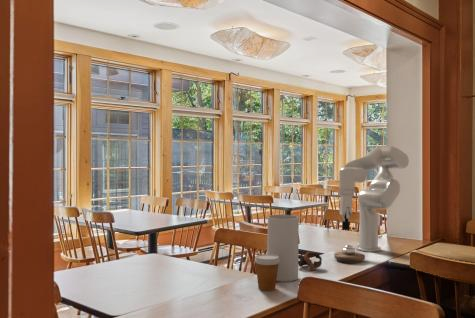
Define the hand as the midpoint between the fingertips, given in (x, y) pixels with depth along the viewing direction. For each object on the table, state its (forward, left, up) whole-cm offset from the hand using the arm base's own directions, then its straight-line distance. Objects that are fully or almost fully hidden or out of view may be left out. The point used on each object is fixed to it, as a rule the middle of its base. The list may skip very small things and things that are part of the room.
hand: (345, 229), depth 230 cm
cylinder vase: (+46, -32, -13) cm, 57 cm away
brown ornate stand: (+28, -20, -13) cm, 37 cm away
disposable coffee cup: (+61, -38, -13) cm, 73 cm away
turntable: (+11, 0, -13) cm, 17 cm away
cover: (+8, 0, -10) cm, 13 cm away
